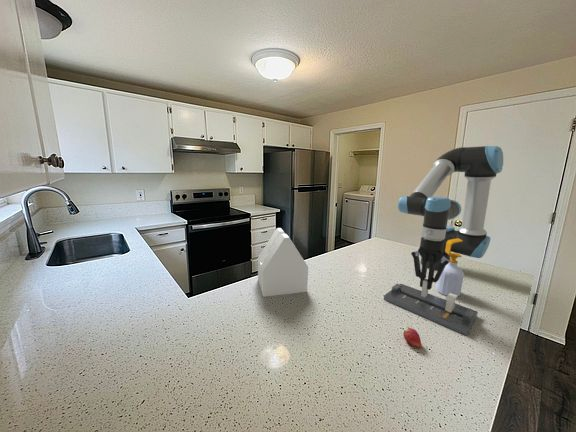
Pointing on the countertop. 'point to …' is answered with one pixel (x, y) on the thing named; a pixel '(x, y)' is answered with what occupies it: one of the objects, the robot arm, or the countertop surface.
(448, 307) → the fader
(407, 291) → the console
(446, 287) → the soap bottle
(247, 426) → the countertop surface
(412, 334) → the fruit
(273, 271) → the white toy house
